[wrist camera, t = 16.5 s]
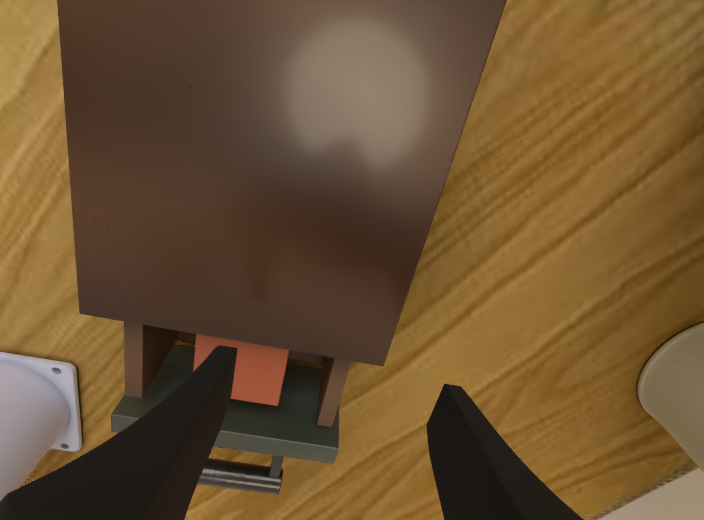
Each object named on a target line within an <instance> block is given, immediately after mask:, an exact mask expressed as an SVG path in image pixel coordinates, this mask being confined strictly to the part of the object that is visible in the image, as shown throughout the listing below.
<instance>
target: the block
mask: <svg viewBox="0 0 704 520" xmlns="http://www.w3.org/2000/svg"><path fill="white" fill-rule="evenodd" d="M218 345H223V346H228V347H234V348H238V350H237V357H236V365H235V372H234V380H233V387H232V394H231V398H230V399H236V400H242V401H249V402H255V403H261V404H268V405H274V406H278V404H279V399H280V394H281V389H282V384H283V380H284V375H285V370H286V365H287V360H288V355H289V350H286V349H280V348H275V347H269V346H263V345H257V344H252V343H246V342H240V341H234V340H229V339H223V338H217V337H211V336H206V335H200V334H196V343H195V355H194V368H193V371H194V370H195V369H196V368H197V367H198V366H199V365H200V364H201V363H202V362H203V361H204V360H205V359H206V358H207V357H208V355H209V354H210V353H211V352H212V351H213V349H214V348H215V347H216V346H218Z"/></svg>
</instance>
